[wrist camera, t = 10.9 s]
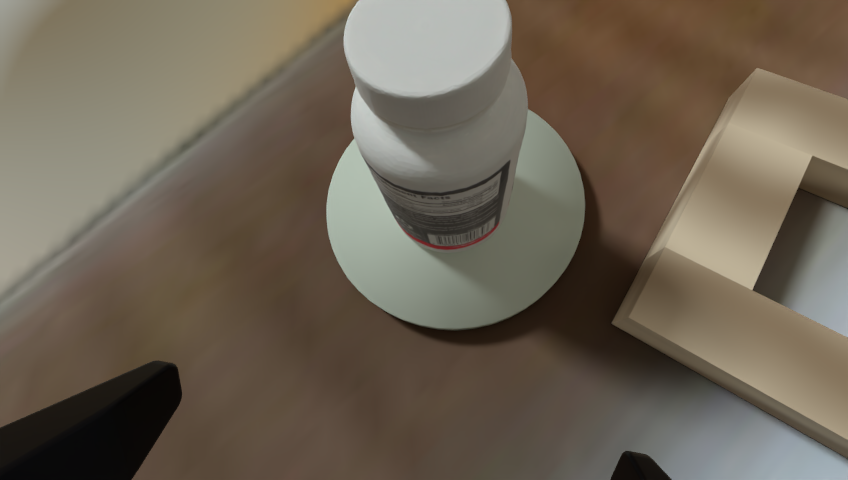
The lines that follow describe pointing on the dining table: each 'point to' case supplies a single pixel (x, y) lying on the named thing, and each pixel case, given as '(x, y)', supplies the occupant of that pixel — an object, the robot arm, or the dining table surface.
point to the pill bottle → (438, 113)
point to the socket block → (750, 258)
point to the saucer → (472, 269)
